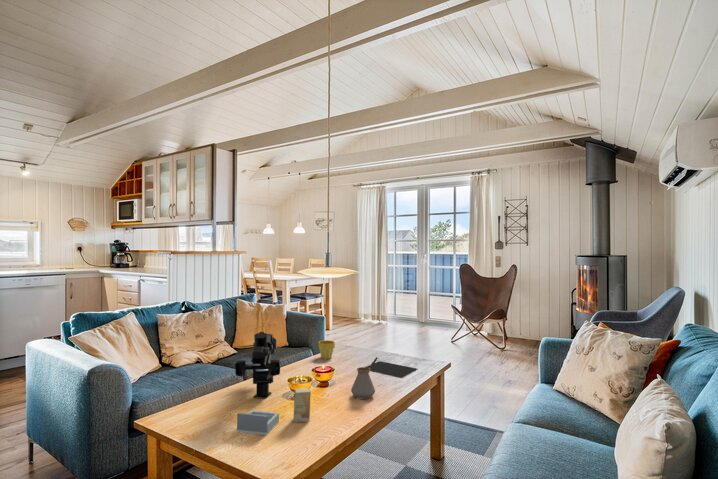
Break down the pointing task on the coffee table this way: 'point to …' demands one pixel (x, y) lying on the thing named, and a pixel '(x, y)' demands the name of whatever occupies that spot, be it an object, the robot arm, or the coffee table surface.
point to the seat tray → (257, 422)
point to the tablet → (391, 369)
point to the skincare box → (302, 405)
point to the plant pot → (326, 348)
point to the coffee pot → (363, 383)
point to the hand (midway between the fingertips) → (255, 378)
